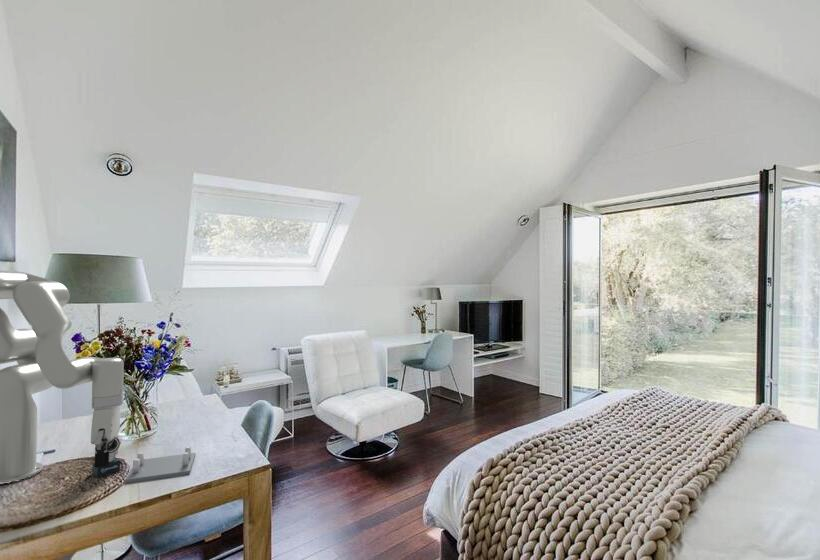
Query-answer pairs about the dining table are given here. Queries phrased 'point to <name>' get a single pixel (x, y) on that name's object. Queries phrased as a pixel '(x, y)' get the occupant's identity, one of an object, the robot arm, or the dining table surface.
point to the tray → (161, 466)
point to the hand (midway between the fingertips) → (106, 460)
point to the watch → (113, 461)
